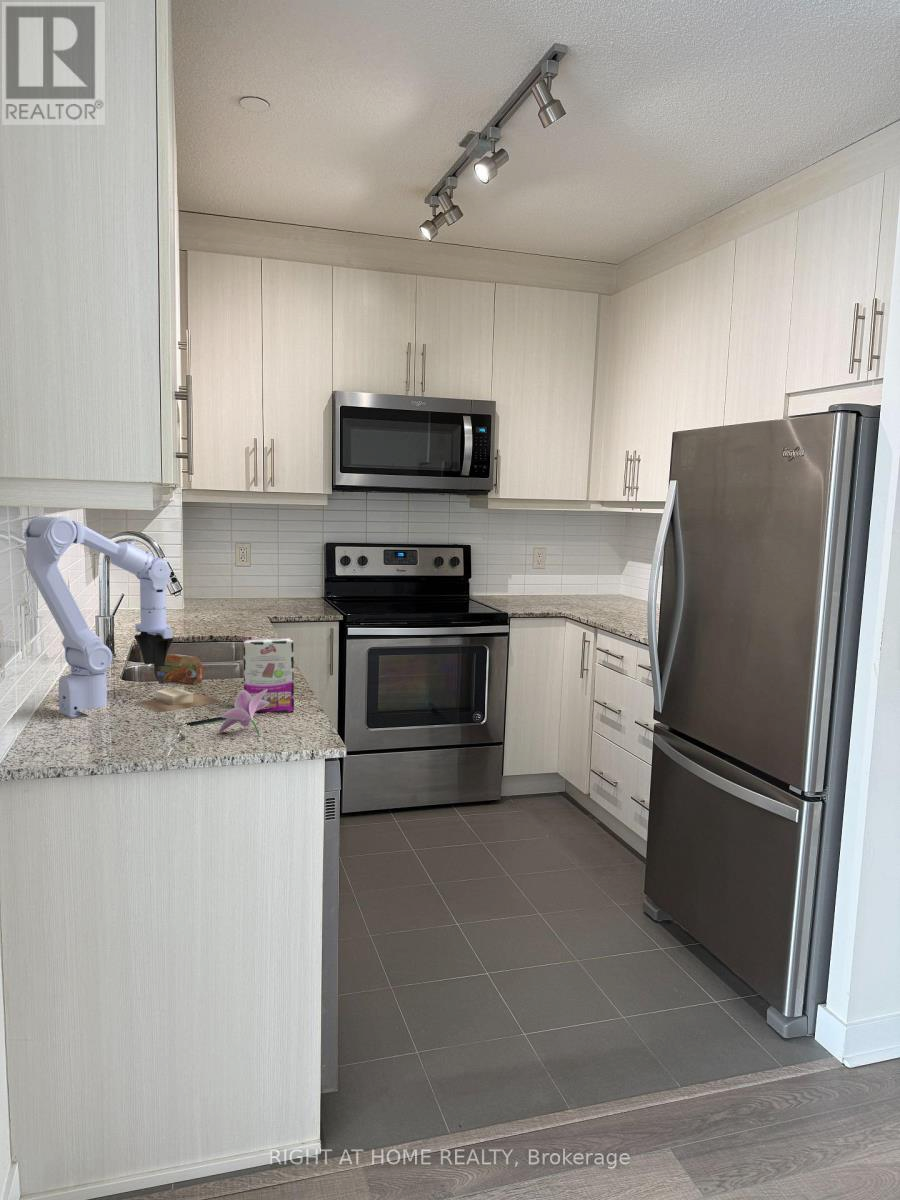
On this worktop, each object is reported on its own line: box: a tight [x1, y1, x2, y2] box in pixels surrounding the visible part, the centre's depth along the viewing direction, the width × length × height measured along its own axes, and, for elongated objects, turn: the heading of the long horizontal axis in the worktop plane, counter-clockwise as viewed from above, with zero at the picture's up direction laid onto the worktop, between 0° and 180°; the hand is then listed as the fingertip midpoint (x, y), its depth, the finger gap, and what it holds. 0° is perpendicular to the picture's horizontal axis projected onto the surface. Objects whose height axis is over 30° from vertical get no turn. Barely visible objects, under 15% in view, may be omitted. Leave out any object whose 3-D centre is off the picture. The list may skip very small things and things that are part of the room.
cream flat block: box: [155, 687, 194, 705], centre depth 191 cm, size 5×8×2 cm, turn 46°
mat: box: [184, 716, 228, 727], centre depth 182 cm, size 12×11×1 cm
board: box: [133, 692, 225, 713], centre depth 190 cm, size 16×12×2 cm
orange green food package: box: [153, 653, 204, 686], centre depth 213 cm, size 15×3×8 cm, turn 62°
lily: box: [218, 688, 270, 736], centre depth 170 cm, size 12×12×10 cm
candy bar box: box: [242, 637, 295, 714], centre depth 189 cm, size 11×5×16 cm, turn 105°
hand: (154, 665), depth 197 cm, fingers open, 4 cm apart
